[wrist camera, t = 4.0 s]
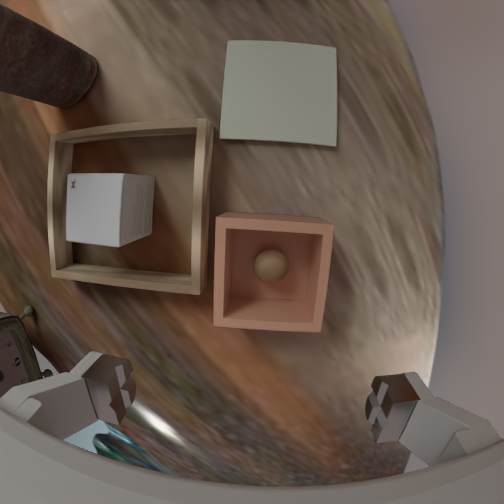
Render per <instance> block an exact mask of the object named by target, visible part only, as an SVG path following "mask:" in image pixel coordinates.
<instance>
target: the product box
mask: <svg viewBox="0 0 504 504" xmlns="http://www.w3.org/2000/svg"><path fill="white" fill-rule="evenodd" d="M154 184H155V176H149V175H135V174H125V173H70V174H68V181H67V205H66V240H67V241H71V242H78V243H85V244H93V245H101V246H110V247H121V246H123V245H126V244H128V243H131V242H133V241H136V240H138V239H141V238H143V237H146V236H149V235H151V233H152V217H153V198H154Z"/></svg>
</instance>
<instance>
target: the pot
mask: <svg viewBox="0 0 504 504" xmlns="http://www.w3.org/2000/svg"><path fill="white" fill-rule="evenodd" d="M333 233H334V225H333V224H331V223H330V222H328V221H326V220H324V219H322V218H316V217H303V216H290V215H275V214H259V213H242V212H225V213H223V214H221V215H219V216H217V217H216V229H215V261H214V326H222V327H233V328H246V329H260V330H276V331H296V332H321V327H322V321H323V314H324V307H325V301H326V293H327V286H328V278H329V270H330V261H331V252H332V243H333ZM265 249H277V250H279V251H281V252H282V253H283V254H284V255H285V256H286V258H287V260H288V263H289V269H288V273H287V275H286V277H285V278H284V279H283V280H282V281H280V282H278V283H275V284H267V283H264V282H262V281H261V280H259V279H258V278H257V276H256V275H255V273H254V268H253V264H254V260H255V258H256V256H257V255H258V254H259V253H260V252H261V251H263V250H265Z"/></svg>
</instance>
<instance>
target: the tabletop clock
mask: <svg viewBox="0 0 504 504" xmlns="http://www.w3.org/2000/svg"><path fill="white" fill-rule="evenodd" d="M32 313H33V309H32V307H31V306H30V305H25V306H24V308H23V313H22V314H21V315H20V316H17V315H12V314H7V313H3V312H0V398H1V397H2V396H3V395H5V394H6V393H7V392H8V391H9V390H10V389H11V388H12V387H15V386H19V385H22V384H26V383H30V382H33V381H37V380H40V379H43V377H42V376H44V377H45V378H47V377H50V376H53V373H52V371H51V370H49V369H46V370H45V371H44V372H41V370H40V367H39V364H38V361H37V358H36V354H35V352H34V349H33V346H32V344H31V341H30V338H29V336H28V333H27V330H26V328H25V326H24V324H23V322H22V319H23V318H24V317H25V316H30V315H32Z"/></svg>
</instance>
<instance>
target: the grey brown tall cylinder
mask: <svg viewBox="0 0 504 504" xmlns="http://www.w3.org/2000/svg"><path fill="white" fill-rule="evenodd" d="M96 74H97V63H96V59H95V57H93V56H92V55H90V54H88V53H87V52H85V51H84V50H82V49H81V48H79V47H77V46H76V45H74V44H72V43H71V42H69V41H67V40H65V39H64V38H62V37H60V36H59V35H57V34H55V33H53V32H51V31H50V30H48V29H46V28H44V27H43V26H41V25H39V24H37V23H36V22H34V21H32V20H30V19H28V18H26V17H24V16H22V15H20V14H19V13H16V12H14V11H13V10H11V9H9V8H7V7H5V6H3V5H1V4H0V91H1V92H5V93H10V94H14V95H17V96H21V97H24V98H28V99H31V100H34V101H38V102H41V103H45V104H48V105H52V106H55V107H59V108H63V107H68V106H70V105H73V104H74V103H76V102H78V101H79V100H80V99H81V97H82V96H83V95H84V94H85V93H86V91H87V90H88V89H89V88H90V86H91V85H92V82H93V79H94V77H95V75H96Z"/></svg>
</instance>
